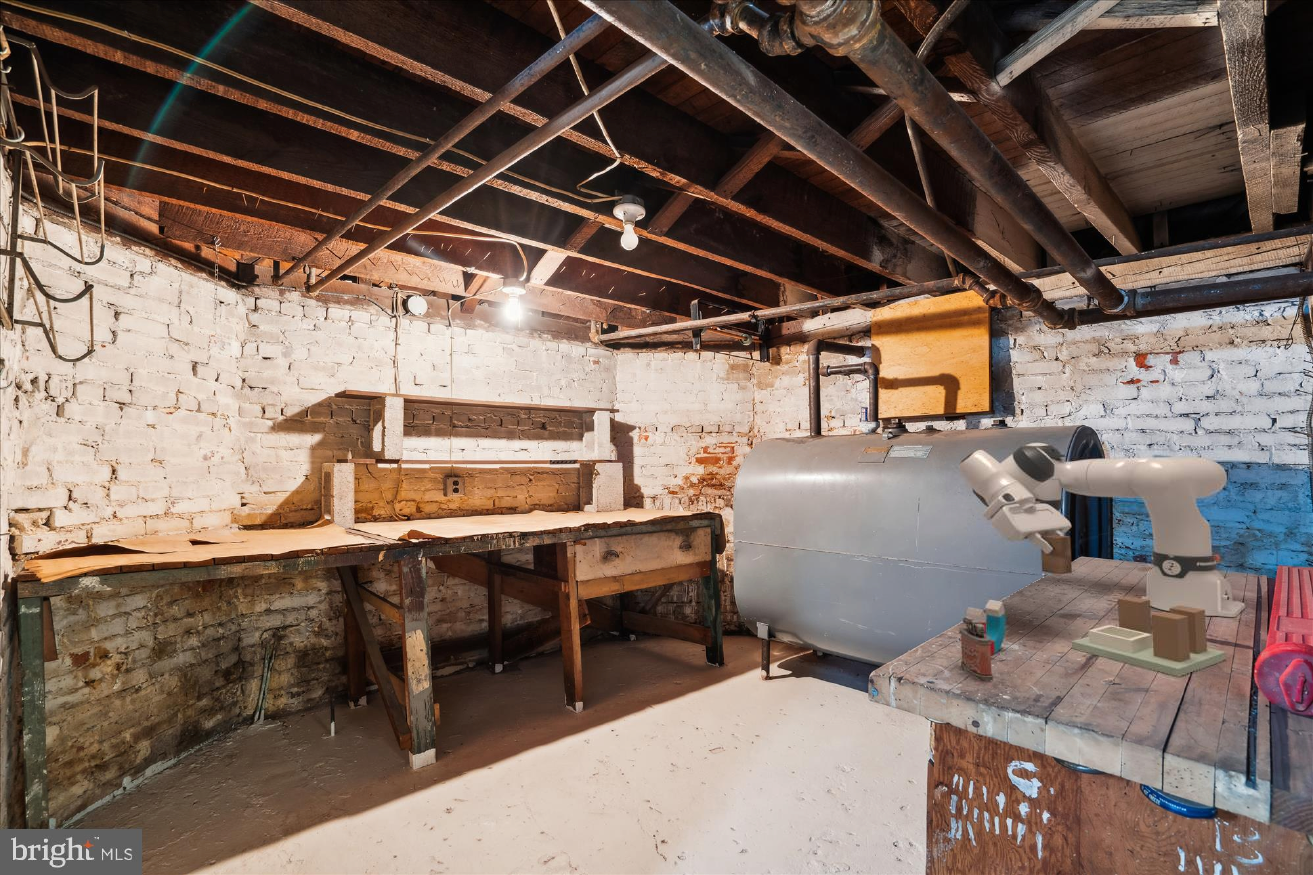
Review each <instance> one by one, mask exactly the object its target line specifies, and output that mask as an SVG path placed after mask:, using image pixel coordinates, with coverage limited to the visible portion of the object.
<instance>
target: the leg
mask: <svg viewBox="0 0 1313 875" xmlns="http://www.w3.org/2000/svg"><path fill="white" fill-rule="evenodd" d="M1041 538H1042V539H1043V540H1045V541H1046V542H1048V543H1051V544H1052V545H1053V546H1054V547H1055V550H1054V551H1053V552H1052V553H1047V554H1046V553H1045V552H1044V551H1043V550H1042V549H1041V548H1040V554H1041V571H1042V572H1043V573H1050V574H1056V575H1060V576H1061V575H1067V574H1072V572H1073V570H1072V549H1071V547H1072V546H1071V536H1070V535H1069V536H1067V535H1063V536H1060V535H1044V536H1041Z"/></svg>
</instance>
